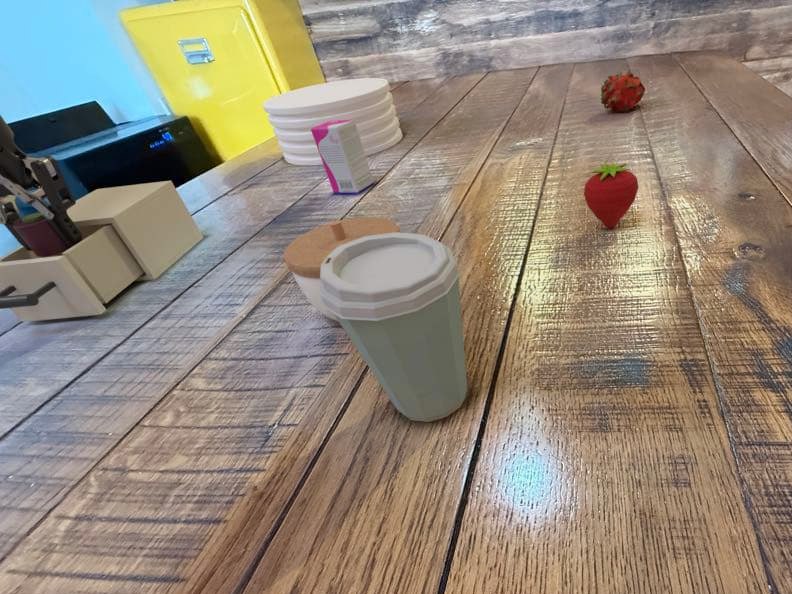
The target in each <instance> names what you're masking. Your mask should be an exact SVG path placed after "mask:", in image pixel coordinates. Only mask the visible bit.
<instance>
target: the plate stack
mask: <svg viewBox="0 0 792 594" xmlns="http://www.w3.org/2000/svg"><path fill="white" fill-rule="evenodd" d="M390 89H391V85H390V83H389V80H388V79H387V78H386V79H385V78H382V77H360V78H351V79H350V78H349V79H341V80H335V81H329V82H328V81H327V82H324V83H318V84H313V85H308V86H304V87H301V88H297V89H296V88H295V89H292V90H288V91H286V92H283V93H280V94H277V95H274V96H271V97H270V98H268V99H266V100H265V101H263V102H262V107H263V110H264V112H265V113H266V114H268V116H267V119H268V122H269V124H270V126H272V127H273V129H272V132H273V134H274V136H275V138H276V139H278V140H277V143H278V146H279V148H280V150H281V151H283V152H282V156H283V158H284V161H285V162H286V163H288V164H290V165H294V166H295V165H296V166H324V164H323V162H322V159H321V156H320V153H319V151H318V148H317V145H316V142H315V140H314V137H313V134H312V131H311V128H314V127H316V126H319V125H321V124H324V123H326V122H328V121H338V120H355V123H356V126H357V129H358V132H359V136H360V139H361V142H362V145H363V148H364V152H365V155H366V157H367V156H368V157H369V156H371V155H374V154H377V153H380V152H382V151H385V150H387V149H389V148H391V147H393V146H395V145H396V144H398V143H399V142H400V141H401V140H402V139H403V132H402V129H401V128H400V121H399V117H398V116H396V115H397V109H396V106H395V105H394V104H393V102H394V98H393V94H392V92H391V91H389V90H390Z"/></svg>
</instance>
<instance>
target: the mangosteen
mask: <svg viewBox="0 0 792 594" xmlns="http://www.w3.org/2000/svg"><path fill="white" fill-rule="evenodd" d="M21 218H22V219H21V220H19V221H17V222H16V223H14V224H13V228H14V229H15V230H16V231H17V232H18V234H19V235H20V236H21V237H22V239H23V240H24V241H25V242H26V243H27V245H28V246H29V247H30V248H31V249H32V251H33V252H34V253H35V254H36V255H37V256H38V257H46V256H52V255H56V254H59V253H62V252H65V251H67V250H68V249H70V248H71V247H73V246H67V245H66V244H65V243H64V242H63V241H62V239H61V238H60V237H59V235H58V234H57V233H56V232H55V230H54V229H53V228H52V226H51V225H50V224H49V222H48V221H47V220H48V218H46V217H45V216H44V215H43V214H41V213H40V212H39V211H38V212H34V213H30V214H28V215H25V216H23V217H21Z"/></svg>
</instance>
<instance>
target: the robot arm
mask: <svg viewBox="0 0 792 594" xmlns="http://www.w3.org/2000/svg"><path fill="white" fill-rule="evenodd" d="M14 138H15V134H14V131H13V130H12V128H11V127H10V126H9V125H8V124H7V122H6V120H5V119H4V118H3V116H2V115H1V114H0V225H3V226H5V227H6V229H7V230H8V231H9V233H10V234H11V235H12V236H13V237H14V239H15V240H16V241H17V242H18V243H19V244H20V246H24V247H25V248H26V249H27V250H29V251H32V249H31V248H30V247H29V246H28V245H27V243H26V242H25V241H24V240H23V239H22V237H21V236H20V235H19V234H18V232H17V231H16V230H15V229H14V228H13V224H14V223H16V222H17V221H19V220H21V219H22V218H23V217H21V212H20V210H19V208H18V206H17V203H16V199H17V198H18V199H19V200H20V201H21V202H22V203H24V204H26V205H29V206H30V205H31V206H32V207H33V208H34V209H36V210H37V211H38V212H40V213H41V214H43V215H44V216H45V217H46V218H48V220H47V221H48V222H49V224H50V225H51V226H52V228H53V229H54V230H55V232H56V233H57V234H58V235H59V237H60V238H61V239H62V241H63V242H64V243H65V244H66V245H67V246H74V245H76V244H78V243H79V242H81V241H82V240H83V239H82V234H81V232H80V231H79V229H78V228H77V227H76V226H75V224H74V223H73V221H72V220H71V219H70V217H69V216H68V214H67V210H68V209H69V208H70V207H72V206H73V205H75V204H76V199H75V197H74V195H73V193H72V191H71V189H70V187H69V185H68V183H67V180H66V179H65V177H64V174H63V173H62V171H61V169H60V166H59V163H58V162H57V160H56V159H55V158H54V157H53V156H51V155H44V156H42V157H40V158H39V157H33V156H28V154H26V152H24V151H23V150H21V148H19V147H18V146H17V144H16V143H15V140H14ZM33 189H35V190H33ZM31 190H33V191H32V192H30V191H31ZM44 201H45V202H46V203H47V204H48V205H47V204H46V203H45V202H44Z"/></svg>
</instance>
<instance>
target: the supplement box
mask: <svg viewBox="0 0 792 594" xmlns="http://www.w3.org/2000/svg"><path fill="white" fill-rule="evenodd" d="M311 131H312V134H313V137H314V140H315V142H316V145H317V148H318V151H319V153H320V156H321V159H322V162H323V164H324V165H323V167H324V170H325V172H326V175H327V178H328V181H329V183H330V187H331V189H332V192H333V195H338V196H339V195H342V196H352V195H353V196H359V195H361V194H362V193H364V192H365V191H366V190H368V189H369V188H371V187H373V186H374V185H375V180H374V177H373V174H372V171H371V168H370V164H369V162H368V159H367V158H368V157H367V156H366V155H365V152H364V148H363V145H362V142H361V139H360V136H359V132H358V129H357V126H356V123H355V120H338V121H328V122H326V123H324V124H321V125H319V126H316V127H314V128H311Z"/></svg>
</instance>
